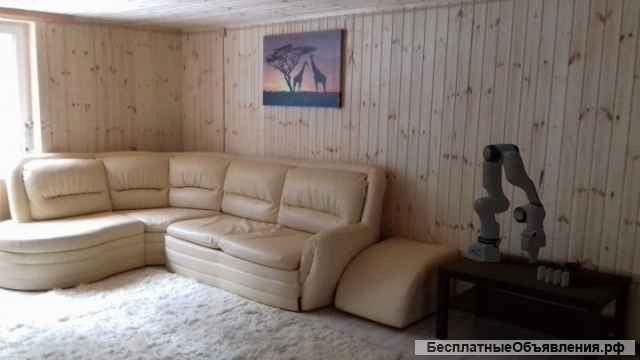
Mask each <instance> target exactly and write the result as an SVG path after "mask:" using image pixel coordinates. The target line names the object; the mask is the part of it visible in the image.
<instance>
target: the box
mask: <svg viewBox="0 0 640 360" xmlns="http://www.w3.org/2000/svg"><path fill="white" fill-rule="evenodd" d="M580 271H581V264H580V263H577V262H576V261H575V262H574V261H564V264H563V272H569V279H572V278H580Z"/></svg>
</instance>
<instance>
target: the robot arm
mask: <svg viewBox="0 0 640 360" xmlns="http://www.w3.org/2000/svg"><path fill="white" fill-rule="evenodd" d="M482 158H483V165H482V188H484V189H485V190H486V192H487V196H482V197H479V198H477V199H476V200H475V201H474V202H473V210H474V212H475V213H476V214H477V215H478V217H479V222H480V235H479V236H477V237H476V239H477V240H476V241H475V242H474V243H472V244H471V245H469V246H468V248H467V252H465V253H463V257H465V258H468V259H471V260H473V261H476V262H479V263H498V262H501V261H502V259H501V256H500V255H501V253H500V244H501V237H500V232H501V224H500V223H499V222H498V221H497V219H496V215H498V214H503V213H504V212H507V211H508V210H509V209H510V205H511V204H510V200H509V199H508V197H507V196H506V194H505V193H504V190H503V183H502V182H503V179H502V178H503V176H502V173H503V171H504V177H505V179H506V181H507V182H508V183H509V185H512V186H513V187H516V188H519V189H522V191H524V192H525V194H526V197H527V200H528V203H526V204H524V205H520V206H517V207H515V209H514V210H513V219H514V220H515V222H517V223H518V224H526V225H525V226H526V227H525V229H523V230H522V231H520V233H521V234H520V236H521V238H520V239H521V240H520V249H521V251H524V252H527V254H528V255H527V257H528V259H530V258H532V257H533V254H532V250H534V249H537V257H538V256H539V252H540V251H541V248H545V247H547V246H546V245H547V235H546V232H545V230H544V228H545V227H544V221H545V219H546V214H547V213H546V210H545V207H544V204H543V203H542V202H541V200H540V197H539V194H538V191H537V188H536V185H535V184H534V181H533V180H532V178H530V176H529V175H528V173H527V171H526V167H525V164H524V161H523V160H524V159H523V158H522V156H521V152H520V148H519V146H518V145H516V144H514V143H496V144H493V143H492V144H491V143H490V144H488V145H486V146H485V147H484V148H483V151H482ZM502 166H503V167H502ZM502 168H503V169H502ZM502 170H503V171H502Z"/></svg>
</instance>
